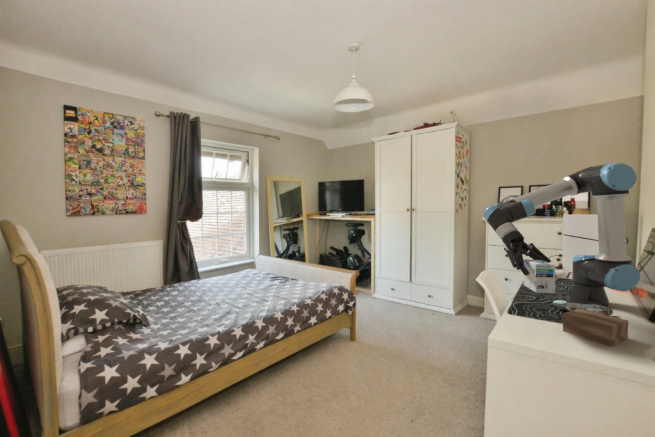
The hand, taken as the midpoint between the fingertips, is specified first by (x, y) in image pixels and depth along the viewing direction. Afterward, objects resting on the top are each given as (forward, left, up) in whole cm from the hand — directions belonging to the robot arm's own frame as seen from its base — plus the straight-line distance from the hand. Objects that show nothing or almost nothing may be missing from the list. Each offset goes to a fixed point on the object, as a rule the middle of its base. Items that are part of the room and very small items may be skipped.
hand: (545, 280), depth 113 cm
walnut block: (-12, +9, -19) cm, 24 cm away
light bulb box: (0, -3, -4) cm, 5 cm away
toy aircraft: (-30, -7, -19) cm, 36 cm away
